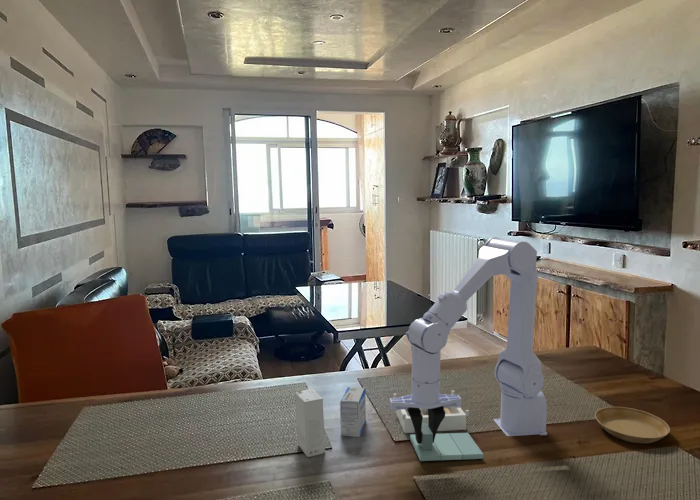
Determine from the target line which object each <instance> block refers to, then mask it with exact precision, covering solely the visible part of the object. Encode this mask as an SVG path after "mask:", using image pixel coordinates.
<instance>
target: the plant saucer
mask: <svg viewBox="0 0 700 500" xmlns="http://www.w3.org/2000/svg"><path fill="white" fill-rule="evenodd" d="M594 417H595V420H596V421H597V422H598V424H599V425H600V427H602V429H604V431H606V432H607V433H608V434H610V435H611V436H613V437H615V438H617V439H620V440H623V441H626V442H629V443H636V444H652V443H655V442H657V441H660V440H662V439H664V438H665V437H666V436H667V435H668V434H669V433H670V432H671V427H670V426H669V424H668V423H667V422H666V421H665V420H663V419H662V418H660V417H659V416H657V415H654V414H652V413H649V412H647V411H644V410H640V409H638V408H637V409H636V408H631V407H624V406H607V407H606V406H605V407H601V408H599V409H597V410H596V411H595V413H594Z"/></svg>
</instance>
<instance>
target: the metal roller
mask: <svg viewBox="0 0 700 500" xmlns="http://www.w3.org/2000/svg"><path fill="white" fill-rule="evenodd" d="M420 411H421V414H422V415H428V409H422V408H420Z"/></svg>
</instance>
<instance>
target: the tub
mask: <svg viewBox="0 0 700 500" xmlns="http://www.w3.org/2000/svg"><path fill="white" fill-rule="evenodd" d="M450 395H455V390H451V391H450ZM392 396H393V397H392V398H397V393H396V392H395V393H393V395H392ZM446 408H448V410H449V411H450V413H451V414H445V417H444V419H443V420H442V422H441V423H440V425H439V427H438V430H437V432H445V431H446V432H447V431H448V432H449V431H459V430H460V431H461V430H463V431H464V430H466V425H467V424H466V422H467V417H469V416H470V411H469V409H465V411H464V410H463V409H462V407H461V408H456V407H455V406H453V407H444V409H446ZM395 414H396V416H397V419H398V421H399V423H400V427H402V428H401V429H402V431H403V433H404V434H412V433H413V434H415V430H414V426H413V423H412V420H411V417H410V415H409V413H408V410H407V409H400V410H396V411H395ZM422 416H423V419H422V423H427V424H428V423H429V420H428V415H422Z"/></svg>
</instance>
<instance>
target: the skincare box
mask: <svg viewBox="0 0 700 500" xmlns="http://www.w3.org/2000/svg"><path fill="white" fill-rule="evenodd" d="M294 398H295V399H294V400H295V402H294V403H295V417H296V431H297V433H296V434H297V435H296V436H297V445H298V446H299V448H300V449H301V451H302V452H303V453H304V454H305V456H306V457H307V458H310V457H315V456H320V455H323V454H325V453H326V441H325V440H326V438H325V422H324V421H325V419H324V399H323V397H322V396H320V394H318V392H316V391H315V390H314V389H313V388H308V389H304V390H299V391H295V392H294Z"/></svg>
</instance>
